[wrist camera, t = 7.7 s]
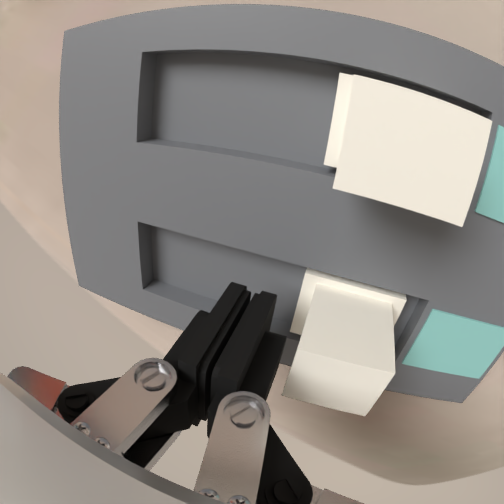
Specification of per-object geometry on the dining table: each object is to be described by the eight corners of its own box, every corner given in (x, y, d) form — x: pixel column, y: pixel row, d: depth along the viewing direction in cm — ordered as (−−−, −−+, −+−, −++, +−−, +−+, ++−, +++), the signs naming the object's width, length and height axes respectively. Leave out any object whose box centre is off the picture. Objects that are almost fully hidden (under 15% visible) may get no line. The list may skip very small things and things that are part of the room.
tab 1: (404, 288, 11) (414, 369, 8) (378, 342, 13) (374, 422, 9) (308, 262, 12) (281, 336, 8) (293, 319, 14) (265, 395, 10)
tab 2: (456, 108, 8) (513, 117, 4) (435, 191, 9) (475, 245, 6) (340, 74, 9) (330, 55, 5) (325, 160, 10) (306, 196, 6)
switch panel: (557, 118, 7) (596, 128, 5) (454, 362, 14) (462, 404, 12) (106, 33, 12) (62, 31, 9) (109, 262, 19) (78, 286, 16)
